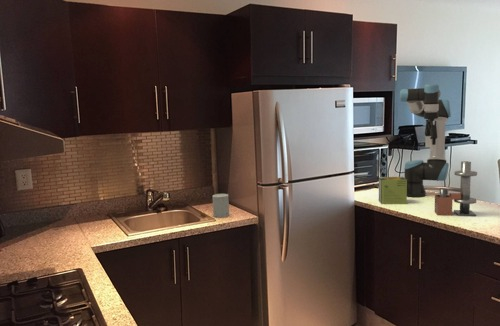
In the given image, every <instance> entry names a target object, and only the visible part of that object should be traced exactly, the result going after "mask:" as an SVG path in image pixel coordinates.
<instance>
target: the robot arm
mask: <svg viewBox="0 0 500 326" xmlns="http://www.w3.org/2000/svg"><path fill="white" fill-rule="evenodd" d="M439 87H440V85H439V84H438V83H431V84H425V85H424V86H423V88H422V87H420V88H418V87H417V88H403V89H400V91H399V100H400V102H403V103H407V105H408V108H409V111H410V113H412V114H413V115H415V116H417V117H420V118H423V119H424V120H425V129H424V135H425V136H424V137H425V143H424V144H425V145H424V146H425V147H424V148H429V158H427V160H426V162H424V160H423V159H415V160H408V161H406V162H405V163H404V169H403V170H404V178H406V179H407V197H408V198H409V197H410V198H423V197H426V195H427V194H426V189H425V186H424V181H437V182H438V181H439V182H443V181H444V182H445V181H446V180H447V177H448V172H449V167H450V163H448V162H447V159H446V158H445V148H446V146H445V145H446V143H445V142H446V124H447V123H446V122H448V120H449V118H451V117H452V114H451V113H452V112H451V105H450V101H449V99H440V97H441V90H440V88H439Z"/></svg>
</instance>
